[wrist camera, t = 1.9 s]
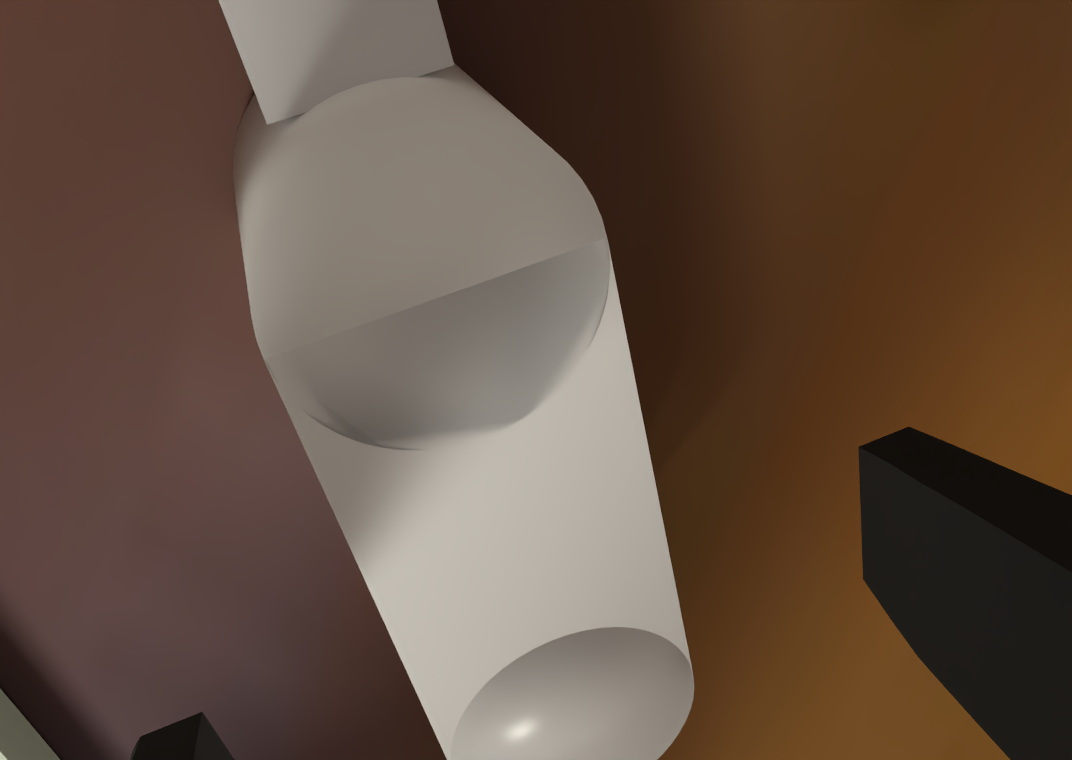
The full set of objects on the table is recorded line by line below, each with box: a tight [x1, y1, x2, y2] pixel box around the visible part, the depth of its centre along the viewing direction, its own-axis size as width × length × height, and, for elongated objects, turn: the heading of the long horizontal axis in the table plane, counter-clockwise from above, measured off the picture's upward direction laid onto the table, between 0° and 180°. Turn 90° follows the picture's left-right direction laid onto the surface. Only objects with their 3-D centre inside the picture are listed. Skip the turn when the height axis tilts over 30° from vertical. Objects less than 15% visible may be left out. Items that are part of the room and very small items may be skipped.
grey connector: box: [219, 0, 694, 760], centre depth 12 cm, size 13×4×4 cm, turn 13°
